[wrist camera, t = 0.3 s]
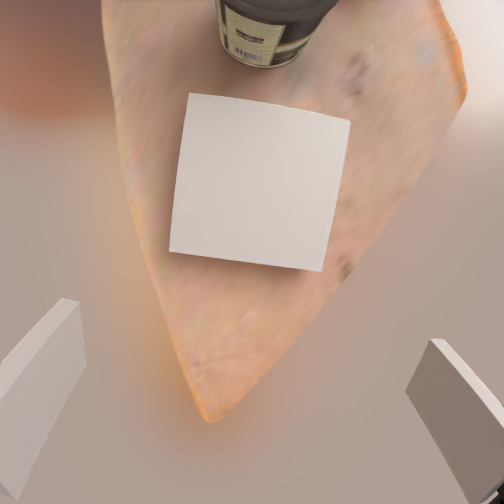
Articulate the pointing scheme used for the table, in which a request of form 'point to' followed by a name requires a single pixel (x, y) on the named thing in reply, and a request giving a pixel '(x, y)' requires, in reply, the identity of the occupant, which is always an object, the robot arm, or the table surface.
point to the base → (257, 182)
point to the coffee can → (268, 28)
